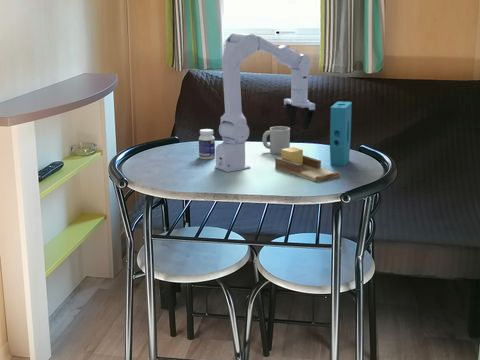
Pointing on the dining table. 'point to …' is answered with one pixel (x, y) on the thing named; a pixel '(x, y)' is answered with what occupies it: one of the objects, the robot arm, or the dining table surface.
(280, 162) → the chute
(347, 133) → the block
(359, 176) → the dining table surface
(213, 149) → the pill bottle
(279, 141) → the cup
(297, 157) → the block
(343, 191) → the dining table surface
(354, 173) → the dining table surface
